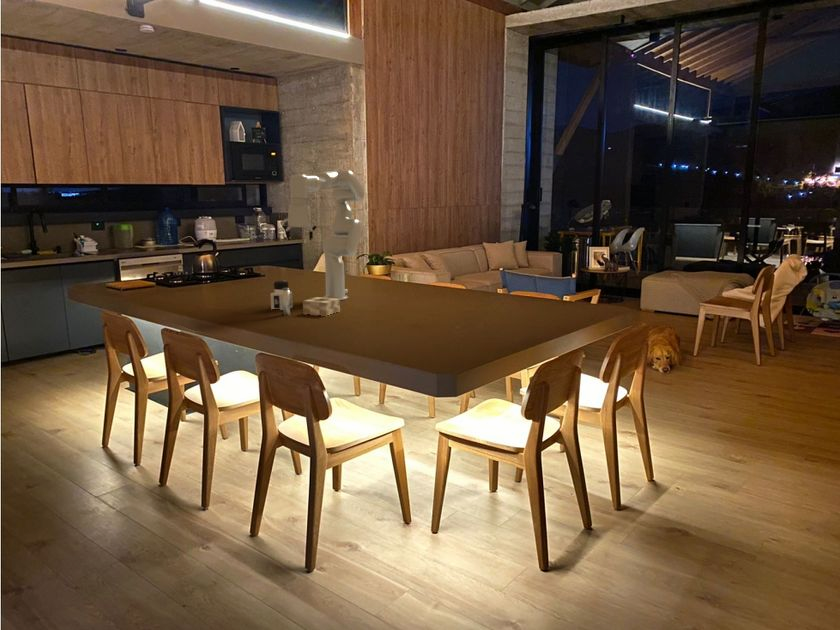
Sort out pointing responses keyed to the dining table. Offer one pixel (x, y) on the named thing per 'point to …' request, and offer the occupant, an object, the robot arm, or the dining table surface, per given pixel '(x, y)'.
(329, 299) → the square wooden hole block
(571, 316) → the dining table surface
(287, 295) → the peg
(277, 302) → the container
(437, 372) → the dining table surface
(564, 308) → the dining table surface
